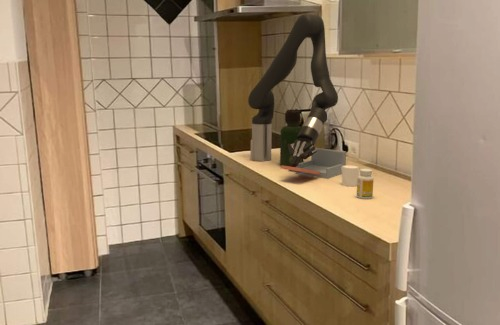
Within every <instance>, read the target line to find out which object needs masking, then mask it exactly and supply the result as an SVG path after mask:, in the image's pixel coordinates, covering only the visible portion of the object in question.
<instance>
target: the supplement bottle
mask: <svg viewBox="0 0 500 325" xmlns="http://www.w3.org/2000/svg"><path fill="white" fill-rule="evenodd" d="M372 174H373V170H372V169H370V168H360V169H359V176H358V179H357V186H356V197H357V198H359V199H363V200H370V199H372V198H373V194H374V193H373V192H374V180H375V179H374V176H373V175H372Z"/></svg>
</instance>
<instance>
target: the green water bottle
mask: <svg viewBox="0 0 500 325" xmlns="http://www.w3.org/2000/svg"><path fill="white" fill-rule="evenodd" d="M301 118H302V117H301V112H300V110H299V109H287V110H286V111H285V114H284V120H285V124H286V126H285V125H284V126H283V127H281V129H280V141H279V142H280V146H279V147H280V148H279V152H280V153H279V154H280V155H279V165H280V166H281V165H283V166H289V167H292V166H291V164H290V162H291V160H292V156H291V155H290V152H289V149H288V144H290V145H291V144H293V143H294V141H296V140H297V136H298V134H299V132H300V130H301V128H302V126H299V124H300V123H301ZM293 151H294V152H295V147H294V150H293ZM302 162H305V161H304V159H302V160H300V162H299V163H302Z"/></svg>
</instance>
